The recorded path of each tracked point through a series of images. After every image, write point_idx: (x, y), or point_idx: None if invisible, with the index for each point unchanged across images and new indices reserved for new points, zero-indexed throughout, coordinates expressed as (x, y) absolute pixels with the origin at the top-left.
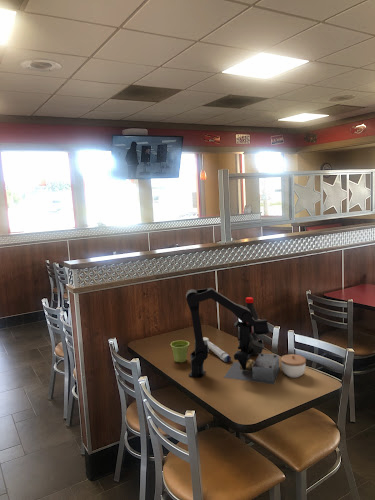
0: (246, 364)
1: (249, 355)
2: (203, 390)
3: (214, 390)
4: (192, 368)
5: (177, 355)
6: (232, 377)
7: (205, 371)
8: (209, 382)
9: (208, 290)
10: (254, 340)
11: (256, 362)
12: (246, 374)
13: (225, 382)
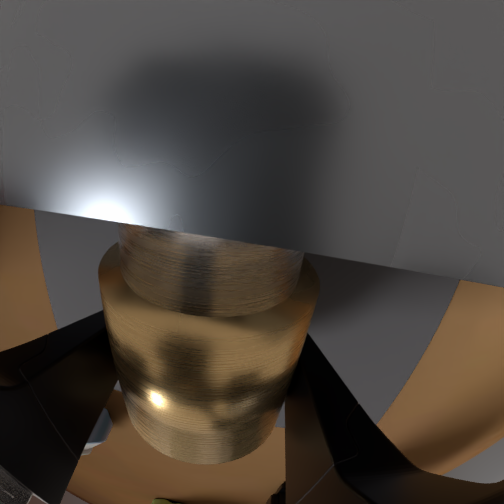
0: (286, 380)
1: (37, 387)
2: (474, 444)
3: (494, 415)
4: None
5: None
6: (380, 391)
7: (284, 488)
8: (408, 456)
9: None
10: None
11: (471, 210)
12: None
13: (433, 405)
